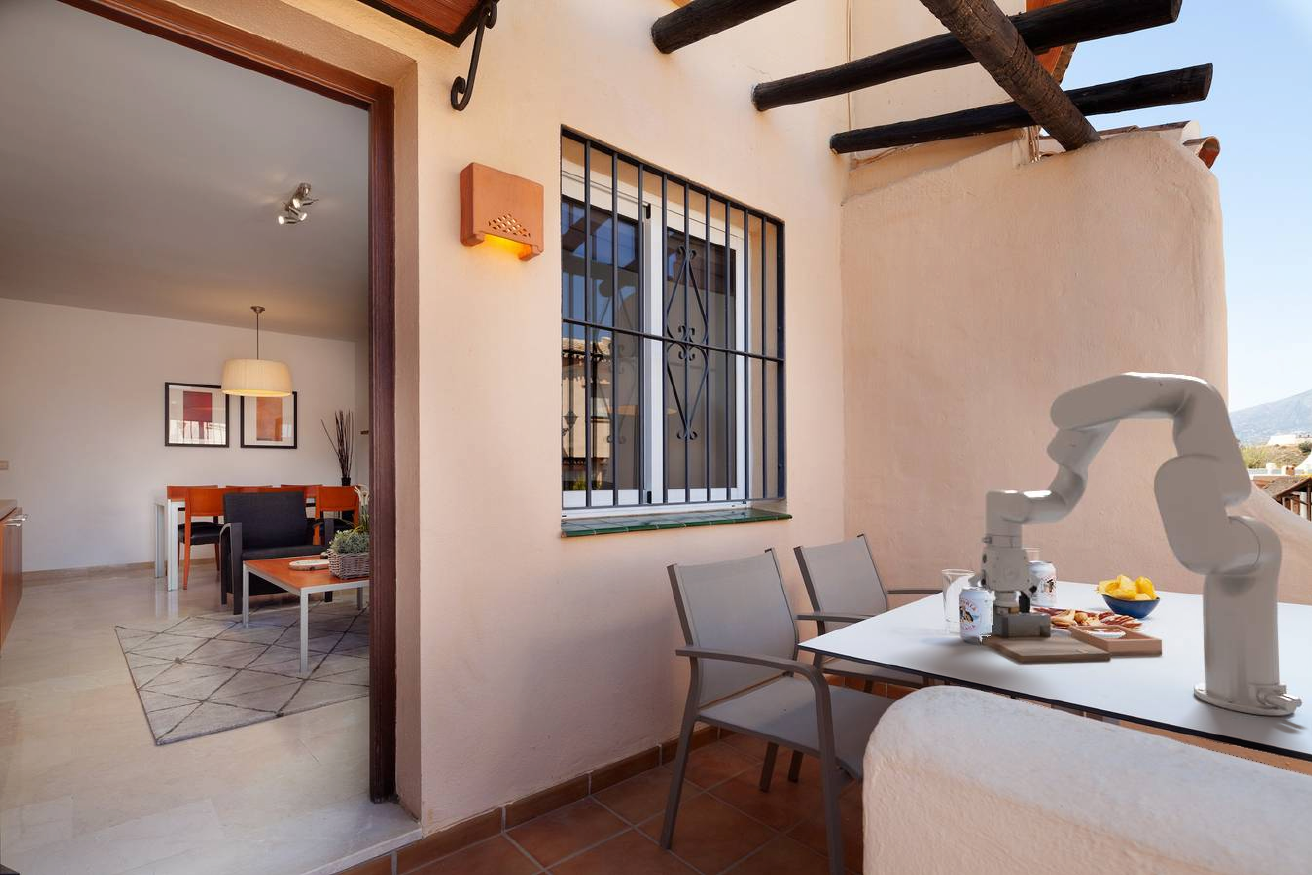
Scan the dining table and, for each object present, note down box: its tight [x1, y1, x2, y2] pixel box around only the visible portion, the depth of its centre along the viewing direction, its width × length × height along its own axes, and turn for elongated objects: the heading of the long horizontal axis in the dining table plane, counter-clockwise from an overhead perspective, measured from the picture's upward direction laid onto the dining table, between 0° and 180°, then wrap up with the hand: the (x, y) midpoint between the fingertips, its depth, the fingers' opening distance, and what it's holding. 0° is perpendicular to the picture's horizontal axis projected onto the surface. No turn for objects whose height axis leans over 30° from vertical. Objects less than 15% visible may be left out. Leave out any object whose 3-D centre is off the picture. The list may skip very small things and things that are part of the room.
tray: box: [1067, 624, 1163, 657], centre depth 143 cm, size 12×12×3 cm
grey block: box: [991, 611, 1052, 638], centre depth 147 cm, size 13×4×4 cm, turn 94°
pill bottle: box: [992, 591, 1020, 614], centre depth 154 cm, size 6×6×10 cm
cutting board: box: [981, 632, 1111, 664], centre depth 140 cm, size 16×19×2 cm
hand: (1004, 614), depth 154 cm, fingers open, 9 cm apart
